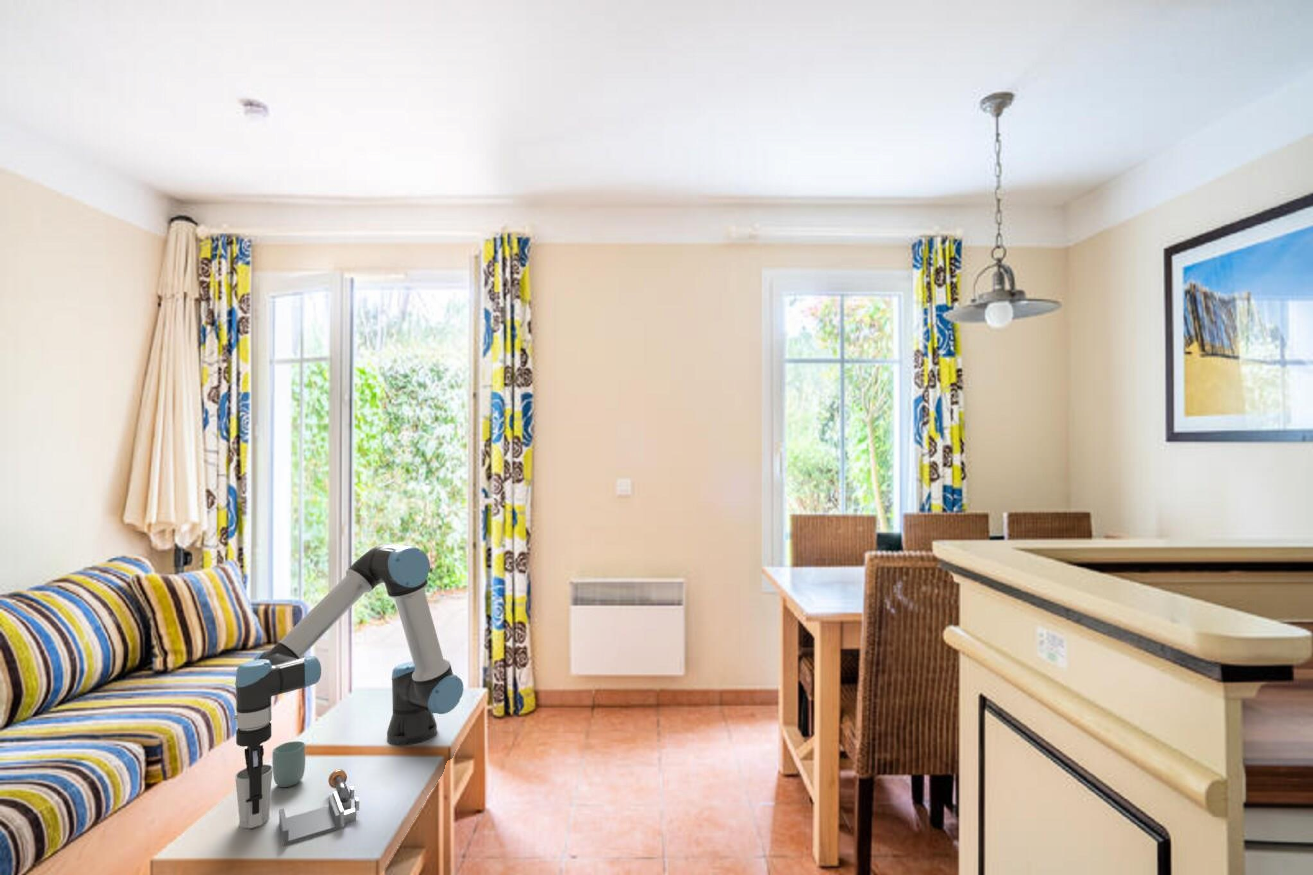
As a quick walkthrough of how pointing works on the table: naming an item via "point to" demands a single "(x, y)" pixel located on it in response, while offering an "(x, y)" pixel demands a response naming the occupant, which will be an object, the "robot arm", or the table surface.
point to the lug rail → (347, 807)
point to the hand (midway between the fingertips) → (254, 818)
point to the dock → (309, 823)
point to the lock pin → (340, 784)
